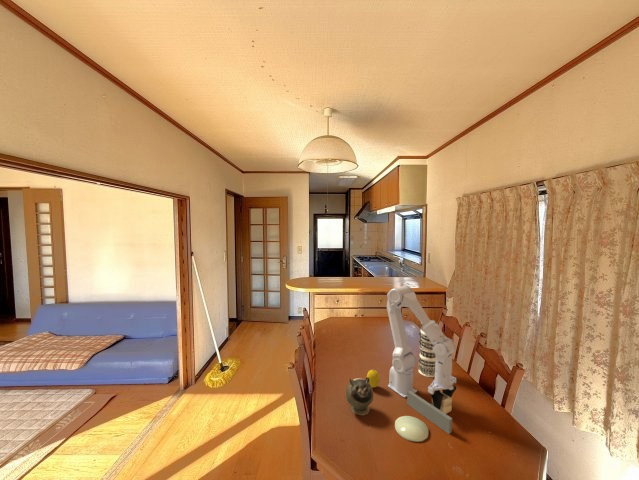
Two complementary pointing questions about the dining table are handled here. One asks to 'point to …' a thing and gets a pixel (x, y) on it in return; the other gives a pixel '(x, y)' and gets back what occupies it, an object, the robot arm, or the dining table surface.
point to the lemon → (373, 378)
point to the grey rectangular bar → (430, 412)
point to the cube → (445, 404)
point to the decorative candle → (426, 355)
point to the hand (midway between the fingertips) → (441, 405)
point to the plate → (411, 428)
